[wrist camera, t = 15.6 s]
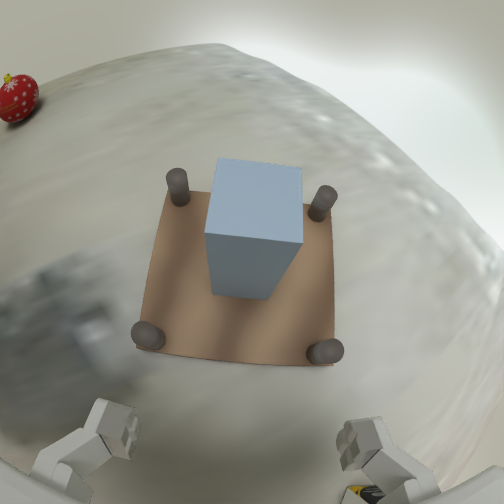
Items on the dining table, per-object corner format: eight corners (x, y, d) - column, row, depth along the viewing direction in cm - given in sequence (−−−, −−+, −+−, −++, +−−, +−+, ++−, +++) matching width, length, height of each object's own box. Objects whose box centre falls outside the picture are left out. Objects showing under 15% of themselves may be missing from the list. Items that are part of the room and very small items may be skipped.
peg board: (141, 349, 22) (121, 343, 17) (170, 197, 28) (162, 166, 23) (327, 366, 23) (351, 364, 18) (325, 215, 29) (342, 187, 24)
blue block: (212, 294, 23) (204, 232, 13) (218, 244, 24) (217, 157, 14) (267, 300, 23) (303, 243, 13) (270, 249, 25) (301, 168, 15)
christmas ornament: (0, 136, 30) (-23, 97, 21) (21, 104, 34) (4, 67, 24) (30, 128, 31) (7, 84, 22) (52, 95, 34) (36, 53, 25)
